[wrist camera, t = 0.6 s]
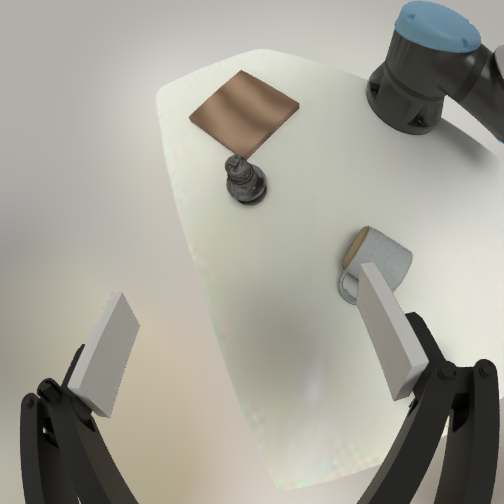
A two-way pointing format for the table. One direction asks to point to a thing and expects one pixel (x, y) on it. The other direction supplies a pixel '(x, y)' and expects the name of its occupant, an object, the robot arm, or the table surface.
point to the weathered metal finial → (245, 180)
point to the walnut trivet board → (244, 113)
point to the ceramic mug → (376, 259)
